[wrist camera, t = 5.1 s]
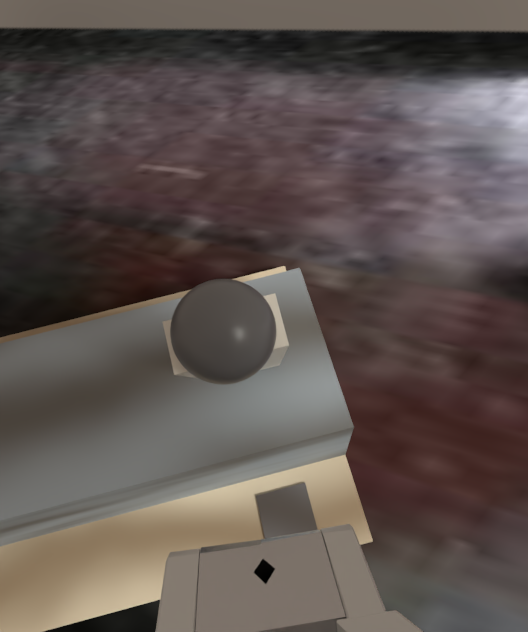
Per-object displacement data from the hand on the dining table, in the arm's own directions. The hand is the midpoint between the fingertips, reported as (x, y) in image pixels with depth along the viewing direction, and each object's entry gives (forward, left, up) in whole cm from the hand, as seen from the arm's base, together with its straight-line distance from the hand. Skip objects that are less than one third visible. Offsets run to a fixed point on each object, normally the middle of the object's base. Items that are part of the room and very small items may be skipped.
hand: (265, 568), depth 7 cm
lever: (+8, +4, -12) cm, 15 cm away
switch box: (+3, +12, -19) cm, 23 cm away
